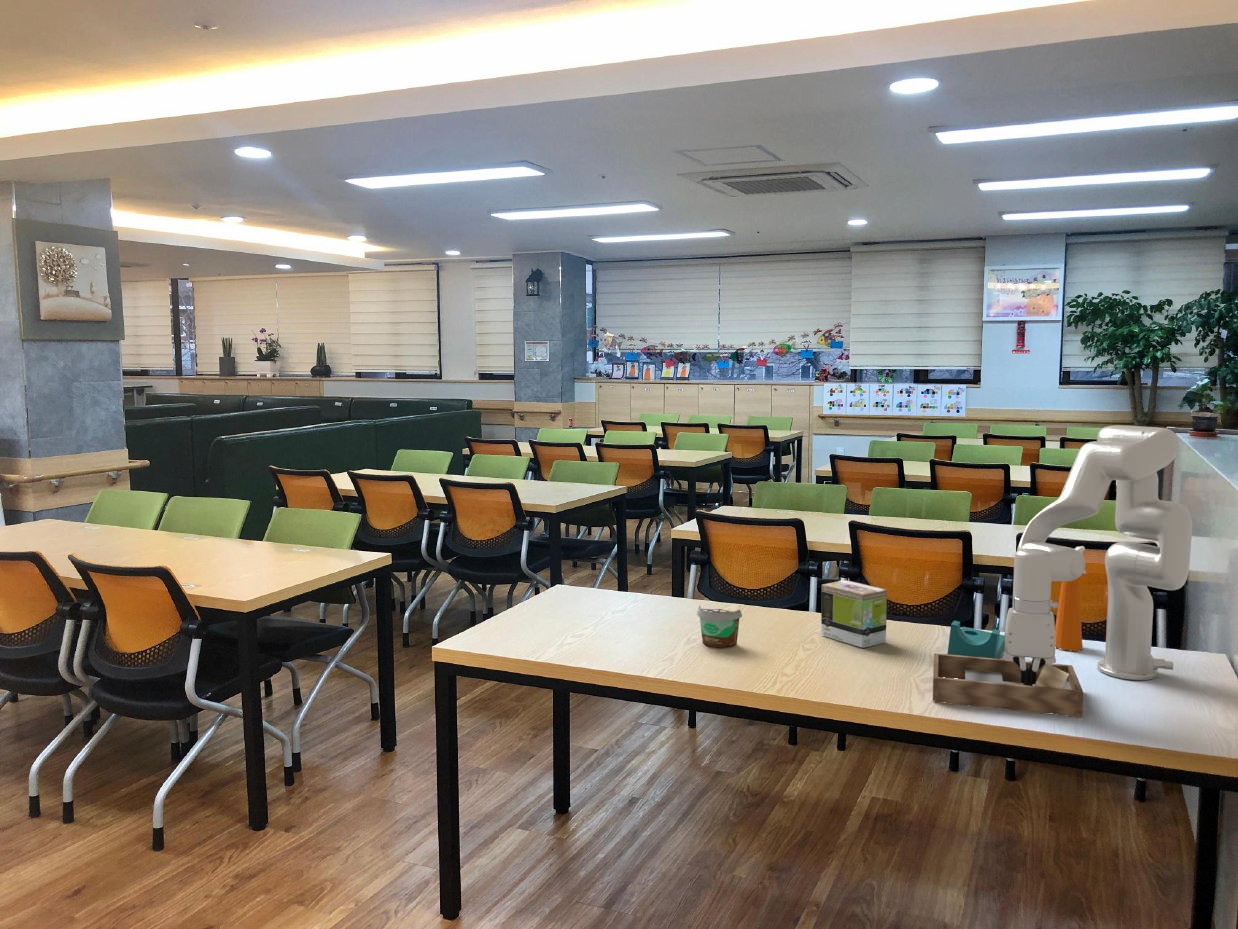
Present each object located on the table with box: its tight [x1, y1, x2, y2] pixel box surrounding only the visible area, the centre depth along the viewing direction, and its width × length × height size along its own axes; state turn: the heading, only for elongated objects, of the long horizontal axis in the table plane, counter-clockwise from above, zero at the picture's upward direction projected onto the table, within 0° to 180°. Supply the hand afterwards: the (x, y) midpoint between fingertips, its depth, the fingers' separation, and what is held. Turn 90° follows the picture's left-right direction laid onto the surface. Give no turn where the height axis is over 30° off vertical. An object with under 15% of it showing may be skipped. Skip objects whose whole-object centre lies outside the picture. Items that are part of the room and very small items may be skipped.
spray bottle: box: [1055, 545, 1087, 652], centre depth 239 cm, size 7×11×26 cm, turn 125°
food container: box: [696, 605, 743, 650], centre depth 245 cm, size 12×6×10 cm, turn 68°
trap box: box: [932, 652, 1084, 718], centre depth 207 cm, size 30×18×6 cm, turn 71°
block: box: [1035, 664, 1069, 689], centre depth 199 cm, size 5×5×5 cm
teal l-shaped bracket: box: [946, 620, 1005, 659], centre depth 231 cm, size 18×11×10 cm, turn 149°
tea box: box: [820, 579, 888, 649], centre depth 249 cm, size 15×10×15 cm, turn 34°
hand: (1027, 686), depth 202 cm, fingers closed
